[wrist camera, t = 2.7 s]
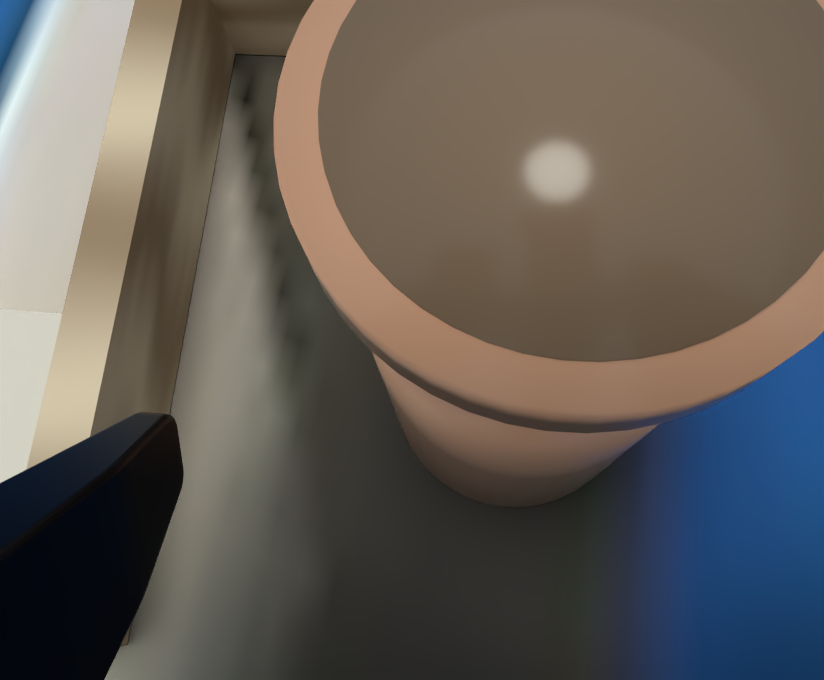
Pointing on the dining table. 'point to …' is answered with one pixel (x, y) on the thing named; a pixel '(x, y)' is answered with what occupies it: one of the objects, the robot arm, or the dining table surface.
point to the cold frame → (149, 212)
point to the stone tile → (23, 381)
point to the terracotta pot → (558, 215)
